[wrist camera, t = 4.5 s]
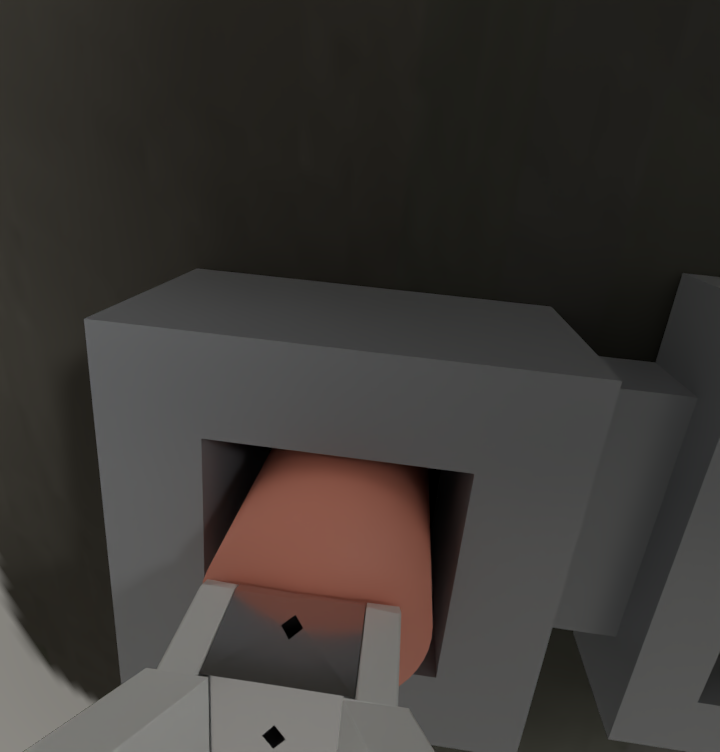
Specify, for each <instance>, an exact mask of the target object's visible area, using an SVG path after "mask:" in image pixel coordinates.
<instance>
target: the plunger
mask: <svg viewBox="0 0 720 752" xmlns="http://www.w3.org/2000/svg"><path fill="white" fill-rule="evenodd" d="M207 579H210V580H215V581H221V582H227V583H232V584H238V585H240V584H243V585H249V586H255V587H261V588H267V589H273V590H279V591H285V592H290V593H296V594H305V595H312V596H320V597H327V598H335V599H342V600H350V601H357V602H365V603H366V605H367V603H375V604H382V605H390V606H398V607H400V610H401V635H400V664H399V686H400V685H401V684H403V683H404V682H405V681H406V680H408V679H409V678H410V677H411V676H412V675H413V674H414V672H415V671H416V670H417V669H418V668H419V666H420V665H421V663H422V662H423V660H424V658H425V656H426V654H427V652H428V650H429V646H430V642H431V639H432V629H433V617H432V580H431V543H430V506H429V469H428V468H426V467H418V466H410V465H402V464H395V463H387V462H379V461H371V460H364V459H356V458H348V457H340V456H333V455H325V454H317V453H309V452H302V451H294V450H286V449H278V448H272V449H271V451H270V453H269V455H268V457H267V459H266V461H265V462H264V464H263V466H262V468H261V470H260V472H259V474H258V476H257V477H256V479H255V481H254V483H253V485H252V487H251V489H250V491H249V493H248V494H247V496H246V498H245V500H244V502H243V504H242V506H241V508H240V509H239V511H238V513H237V515H236V517H235V519H234V521H233V523H232V525H231V526H230V528H229V530H228V532H227V534H226V536H225V538H224V540H223V541H222V543H221V545H220V547H219V549H218V551H217V553H216V555H215V557H214V558H213V560H212V562H211V564H210V566H209V568H208V570H207V572H206V575H205V577H204V579H203V583H204V582H205V581H206V580H207ZM203 583H202V584H203ZM365 610H366V608H365ZM364 619H365V618H364ZM363 627H364V626H363ZM362 636H363V635H362ZM361 644H362V643H361ZM360 653H361V652H360Z"/></svg>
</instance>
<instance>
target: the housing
mask: <svg viewBox="0 0 720 752" xmlns="http://www.w3.org/2000/svg"><path fill="white" fill-rule="evenodd" d="M84 326H85V336H86V346H87V355H88V365H89V375H90V385H91V394H92V404H93V414H94V424H95V434H96V443H97V453H98V463H99V473H100V482H101V492H102V502H103V512H104V521H105V531H106V541H107V551H108V560H109V570H110V580H111V590H112V599H113V609H114V619H115V629H116V638H117V648H118V658H119V668H120V677H121V684H123V683H124V682H126V681H127V680H129V679H130V678H132V677H133V676H135V675H136V674H138V673H139V672H141V671H142V670H143V669H145V668H152V669H157V667H158V665H159V663H160V662H161V660H162V658H163V656H164V654H165V652H166V650H167V648H168V646H169V644H170V643H171V641H172V639H173V637H174V635H175V633H176V631H177V629H178V627H179V625H180V624H181V622H182V620H183V618H184V616H185V614H186V612H187V610H188V608H189V606H190V605H191V603H192V601H193V599H194V597H195V595H196V593H197V591H198V589H199V587H200V586H201V585H202V583H203V579H204V577H205V575H206V572H207V570H208V568H209V566H210V564H211V562H212V560H213V558H214V557H215V555H216V553H217V551H218V549H219V547H220V545H221V543H222V541H223V540H224V538H225V536H226V534H227V532H228V530H229V528H230V526H231V525H232V523H233V521H234V519H235V517H236V515H237V513H238V511H239V509H240V508H241V506H242V504H243V502H244V500H245V498H246V496H247V494H248V493H249V491H250V489H251V487H252V485H253V483H254V481H255V479H256V477H257V476H258V474H259V472H260V470H261V468H262V466H263V464H264V462H265V461H266V459H267V457H268V455H269V447H271V448H278V449H286V450H294V451H302V452H309V453H317V454H325V455H333V456H340V457H348V458H356V459H364V460H371V461H379V462H387V463H395V464H402V465H410V466H418V467H426V468H433V469H441V473H440V479H439V485H438V491H437V497H436V504H435V510H434V516H433V522H432V528H431V529H430V543H431V580H432V617H433V629H432V639H431V642H430V646H429V650H428V652H427V654H426V656H425V658H424V660H423V662H422V663H421V665H420V666H419V668H418V669H417V670H416V671H415V672H414V674H413V675H412V676H411V677H410V678H409V679H408V680H406V681H405V682H404V683H403V684H401V685H400V686H399V693H398V706H399V707H404V708H409V709H410V711H411V713H412V714H413V716H414V718H415V719H416V721H417V723H418V724H419V726H420V728H421V729H422V731H423V733H424V734H425V736H426V738H427V739H428V741H429V743H430V745H435V746H441V747H447V748H453V749H459V750H466V751H472V752H517V751H518V747H519V744H520V740H521V737H522V733H523V730H524V726H525V723H526V719H527V716H528V712H529V709H530V705H531V701H532V698H533V694H534V691H535V687H536V684H537V680H538V677H539V673H540V670H541V666H542V663H543V659H544V656H545V652H546V649H547V645H548V642H549V638H550V635H551V631H552V628H559V629H566V630H572V631H574V632H573V634H574V637H575V640H576V643H577V647H578V650H579V653H580V656H581V659H582V662H583V665H584V668H585V671H586V674H587V677H588V680H589V683H590V686H591V689H592V692H593V695H594V698H595V701H596V704H597V707H598V710H599V713H600V716H601V719H602V722H603V725H604V729H605V732H606V735H607V738H608V739H609V740H616V741H622V742H628V743H635V744H641V745H647V746H654V747H660V748H666V749H673V750H679V751H685V752H720V277H715V276H705V275H696V274H686V273H682V277H681V280H680V283H679V286H678V290H677V293H676V296H675V300H674V303H673V306H672V309H671V313H670V316H669V319H668V323H667V326H666V329H665V333H664V336H663V339H662V342H661V346H660V349H659V352H658V356H657V359H656V362H646V361H638V360H629V359H620V358H611V357H602V356H598V355H597V354H596V353H595V352H594V351H593V350H592V349H591V348H590V347H589V346H588V344H587V343H586V342H585V341H584V340H583V339H582V338H581V337H580V336H579V335H578V334H577V333H576V332H575V331H574V330H573V329H572V328H571V327H570V326H569V325H568V323H567V322H566V321H565V320H564V319H563V318H562V317H561V316H560V315H559V314H558V313H557V312H556V311H555V310H554V309H553V308H552V307H551V306H541V305H532V304H523V303H514V302H504V301H495V300H486V299H477V298H467V297H458V296H449V295H440V294H430V293H421V292H412V291H402V290H393V289H384V288H375V287H365V286H356V285H347V284H338V283H328V282H319V281H310V280H301V279H291V278H282V277H273V276H264V275H254V274H245V273H236V272H226V271H217V270H208V269H199V268H197V269H195V270H192V271H190V272H188V273H186V274H183V275H181V276H179V277H177V278H174V279H172V280H170V281H168V282H165V283H163V284H161V285H159V286H156V287H154V288H152V289H150V290H147V291H145V292H143V293H141V294H138V295H136V296H134V297H132V298H129V299H127V300H125V301H123V302H120V303H118V304H116V305H114V306H111V307H109V308H107V309H105V310H102V311H100V312H98V313H96V314H93V315H91V316H89V317H87V318H84Z"/></svg>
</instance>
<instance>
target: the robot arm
mask: <svg viewBox="0 0 720 752" xmlns="http://www.w3.org/2000/svg"><path fill="white" fill-rule="evenodd" d="M365 608H366V610H365ZM364 618H365V619H364ZM363 626H364V627H363ZM362 635H363V636H362ZM400 635H401V610H400V607H398V606H390V605H382V604H375V603H367V605H366V603H365V602H357V601H350V600H342V599H335V598H327V597H320V596H312V595H305V594H296V593H290V592H285V591H279V590H273V589H267V588H261V587H255V586H249V585H243V584H240V585H238V584H232V583H227V582H221V581H215V580H210V579H207V580H206V581H205V582H204V583H203V584H202V585H201V586H200V587H199V589H198V591H197V593H196V595H195V597H194V599H193V601H192V603H191V605H190V606H189V608H188V610H187V612H186V614H185V616H184V618H183V620H182V622H181V624H180V625H179V627H178V629H177V631H176V633H175V635H174V637H173V639H172V641H171V643H170V644H169V646H168V648H167V650H166V652H165V654H164V656H163V658H162V660H161V662H160V663H159V665H158V667H157V669H152V668H145V669H143V670H142V671H141V672H139V673H138V674H136V675H135V676H133V677H132V678H130V679H129V680H127V681H126V682H124V683H123V684H121V685H120V686H119V687H117V688H116V689H114V690H113V691H111V692H110V693H108V694H107V695H105V696H104V697H102V698H101V699H99V700H98V701H96V702H95V703H94V704H92V705H91V706H89V707H88V708H86V709H85V710H83V711H82V712H80V713H79V714H77V715H76V716H75V717H73V718H72V719H70V720H69V721H67V722H66V723H64V724H63V725H61V726H60V727H58V728H57V729H55V730H54V731H52V732H51V733H50V734H48V735H47V736H45V737H44V738H42V739H41V740H40V741H38V742H36V743H35V744H33V745H32V746H30V747H29V748H28V749H26V750H25V751H23V752H435V751H434V750H433V748H432V746H431V745H430V743H429V741H428V739H427V738H426V736H425V734H424V733H423V731H422V729H421V728H420V726H419V724H418V723H417V721H416V719H415V718H414V716H413V714H412V713H411V711H410V709H409V708H404V707H399V706H398V693H399V664H400ZM361 643H362V644H361ZM360 652H361V653H360Z"/></svg>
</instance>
